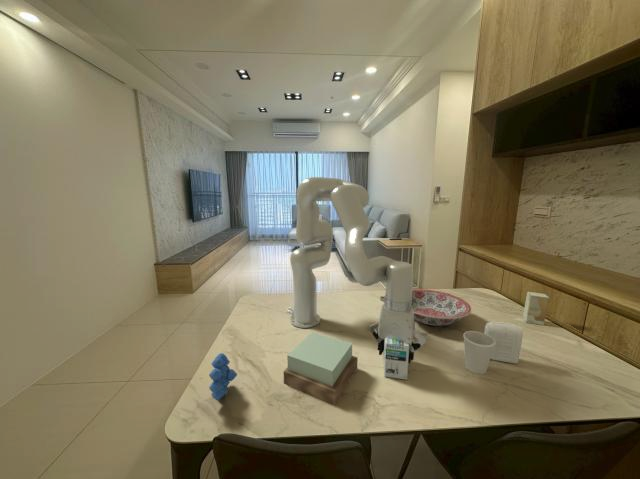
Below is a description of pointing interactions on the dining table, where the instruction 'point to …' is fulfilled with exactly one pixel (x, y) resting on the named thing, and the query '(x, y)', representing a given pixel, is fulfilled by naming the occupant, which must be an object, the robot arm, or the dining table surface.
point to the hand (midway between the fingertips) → (395, 356)
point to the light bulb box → (395, 359)
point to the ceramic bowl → (438, 307)
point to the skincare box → (535, 308)
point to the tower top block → (320, 358)
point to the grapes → (221, 376)
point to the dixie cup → (477, 351)
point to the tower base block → (321, 389)
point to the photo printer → (505, 341)
